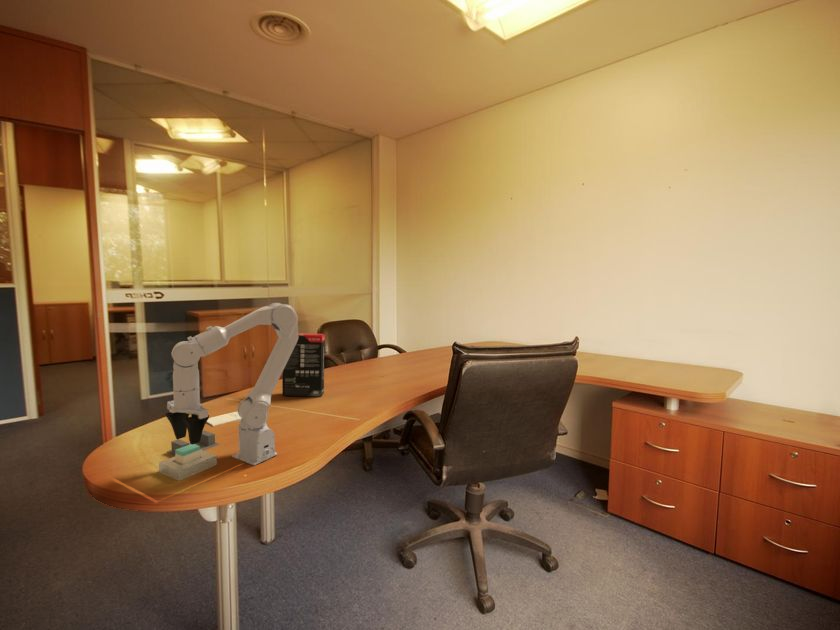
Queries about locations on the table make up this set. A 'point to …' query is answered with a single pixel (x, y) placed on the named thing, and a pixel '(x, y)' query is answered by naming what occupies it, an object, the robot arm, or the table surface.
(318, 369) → the graphics card box
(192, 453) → the plug
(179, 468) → the port
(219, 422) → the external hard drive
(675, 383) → the table surface
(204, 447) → the holster
